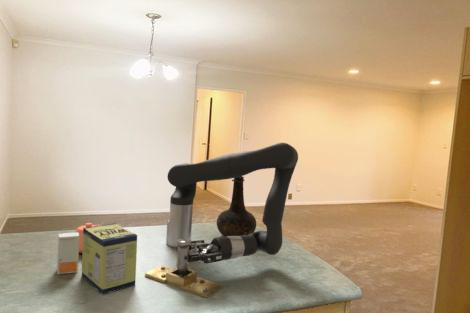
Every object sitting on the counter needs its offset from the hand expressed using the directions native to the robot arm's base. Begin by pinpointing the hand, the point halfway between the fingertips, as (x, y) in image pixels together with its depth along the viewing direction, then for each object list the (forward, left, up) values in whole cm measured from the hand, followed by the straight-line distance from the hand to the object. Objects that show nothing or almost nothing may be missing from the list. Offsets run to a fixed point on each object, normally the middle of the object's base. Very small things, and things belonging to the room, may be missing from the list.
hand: (182, 253), depth 109 cm
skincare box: (-33, -16, -9) cm, 38 cm away
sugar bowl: (-44, +1, -9) cm, 45 cm away
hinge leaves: (0, 0, -9) cm, 9 cm away
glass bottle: (-9, +51, -9) cm, 53 cm away
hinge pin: (0, 0, -9) cm, 9 cm away
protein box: (-18, -13, -9) cm, 24 cm away
